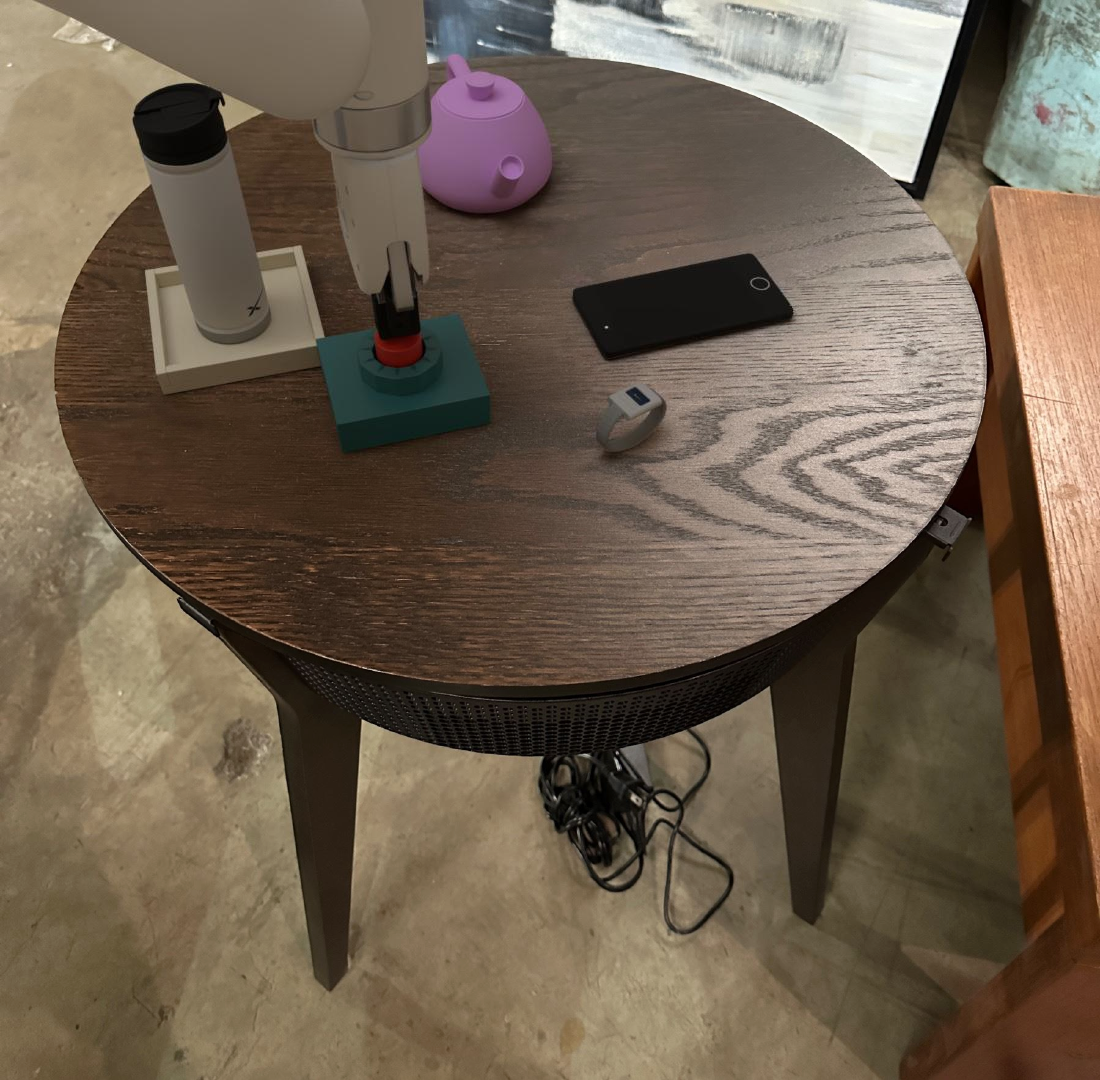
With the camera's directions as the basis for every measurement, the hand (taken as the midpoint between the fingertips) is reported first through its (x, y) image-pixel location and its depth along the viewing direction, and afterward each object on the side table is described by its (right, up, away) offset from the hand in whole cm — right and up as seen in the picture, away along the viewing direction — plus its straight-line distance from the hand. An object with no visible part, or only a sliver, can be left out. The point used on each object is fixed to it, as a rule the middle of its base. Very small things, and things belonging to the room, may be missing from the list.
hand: (398, 330), depth 79 cm
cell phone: (+23, +4, +13) cm, 27 cm away
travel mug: (-15, +3, +9) cm, 18 cm away
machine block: (0, -4, +5) cm, 7 cm away
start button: (0, -1, +2) cm, 2 cm away
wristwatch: (+18, -9, +3) cm, 20 cm away
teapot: (+5, +19, +24) cm, 31 cm away
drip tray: (-15, +2, +10) cm, 18 cm away
